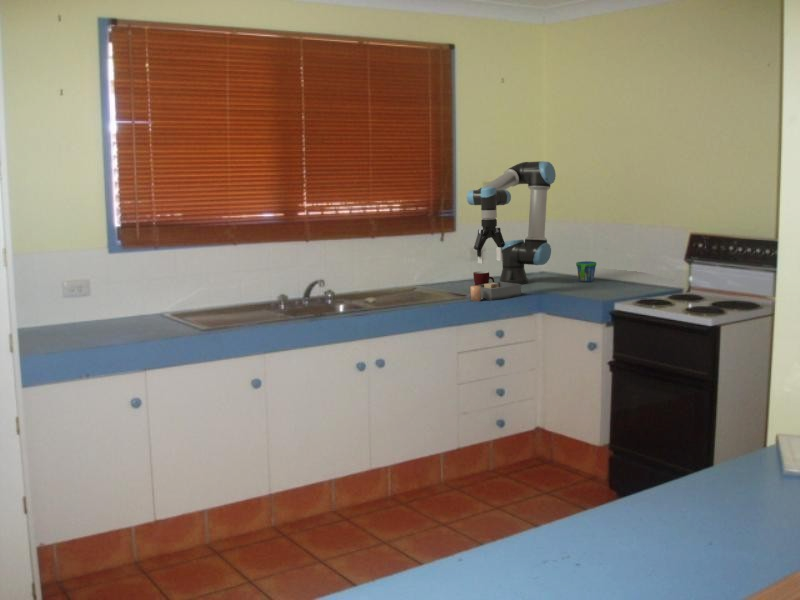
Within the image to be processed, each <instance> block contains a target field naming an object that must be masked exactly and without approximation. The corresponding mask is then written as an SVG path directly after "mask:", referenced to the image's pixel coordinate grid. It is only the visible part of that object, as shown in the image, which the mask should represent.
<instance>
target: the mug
mask: <svg viewBox="0 0 800 600" xmlns="http://www.w3.org/2000/svg"><path fill="white" fill-rule="evenodd" d="M490 280H491V281H492V282H491V283H494V282H495V278H493V276H490V272H489V271H486V270H485V271H484V270H483V271H474V272H473V282H474V286H475V285H481V284H487V283H490Z"/></svg>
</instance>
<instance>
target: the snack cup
mask: <svg viewBox="0 0 800 600" xmlns="http://www.w3.org/2000/svg"><path fill="white" fill-rule="evenodd" d="M575 264H576V268H577V275H578V279H579V282H581V283H591V282H593V281H594V279H595V274H596V267H597V262H596V261H591V260H589V261H587V260H585V261H577V262H576V263H575Z"/></svg>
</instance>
